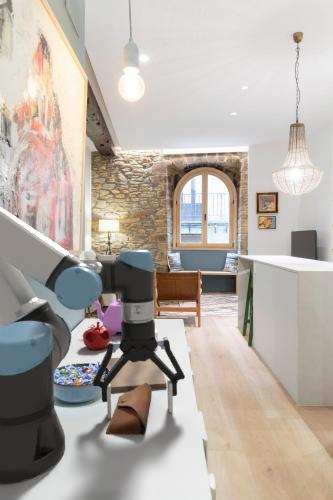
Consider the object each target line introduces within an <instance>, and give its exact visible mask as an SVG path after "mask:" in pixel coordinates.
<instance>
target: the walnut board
mask: <svg viewBox="0 0 333 500" xmlns="http://www.w3.org/2000/svg"><path fill="white" fill-rule="evenodd" d="M119 359H120V357H111V359H110V361H109V363H108V365H107V368H108V369H109V370H111V369H112V367H113V366H114V365H115V364H116V362H117V361H118V360H119ZM144 383H148V384H149V385H150V387H151V389H152V390H154V389H155V390H156V389H166V388H167V380H166V377H165V374H164V373H163V372H162V371H161V370H160V369H159V368H158V366H157V365H156V364H155V363H153V362H152V361H151V360H150V359H148V360H146V361H137V362H132V361H130V360H129V361H128V362H127V363H126V364H125V365H124V366H123V367H122V369H121V370H120V371H119V372H118V374H117V375H116V376H115V377H114V379H113V380H112V381H111V382H110V384H111V393H114V392H126V391H127V392H129V391H132V390H134V389H135V388H137V387H138V386H140V385H142V384H144Z"/></svg>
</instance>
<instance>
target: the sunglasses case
mask: <svg viewBox="0 0 333 500" xmlns="http://www.w3.org/2000/svg"><path fill="white" fill-rule="evenodd" d="M152 390H153V389H151V387H150V385H149V384H148V383H144V384H142V385H140V386H138V387H137V388H135V389H134V390H130V391H127V392H125V393H123V394H121V395H119V397H118V400H117V403H116V406H115V409H114V411H113V413H112V415H111V418H110V420H109V423H108V424H107V428H106V431H105V434H106V435H127V436H128V435H130V436H131V435H132V436H133V435H134V436H135V435H136V436H139V435H142V436H144V435H145V434H146V430H147V425H148V419H149V413H150V412H149V411H150V405H151V400H152V395H153V394H152V392H153V391H152Z"/></svg>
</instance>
